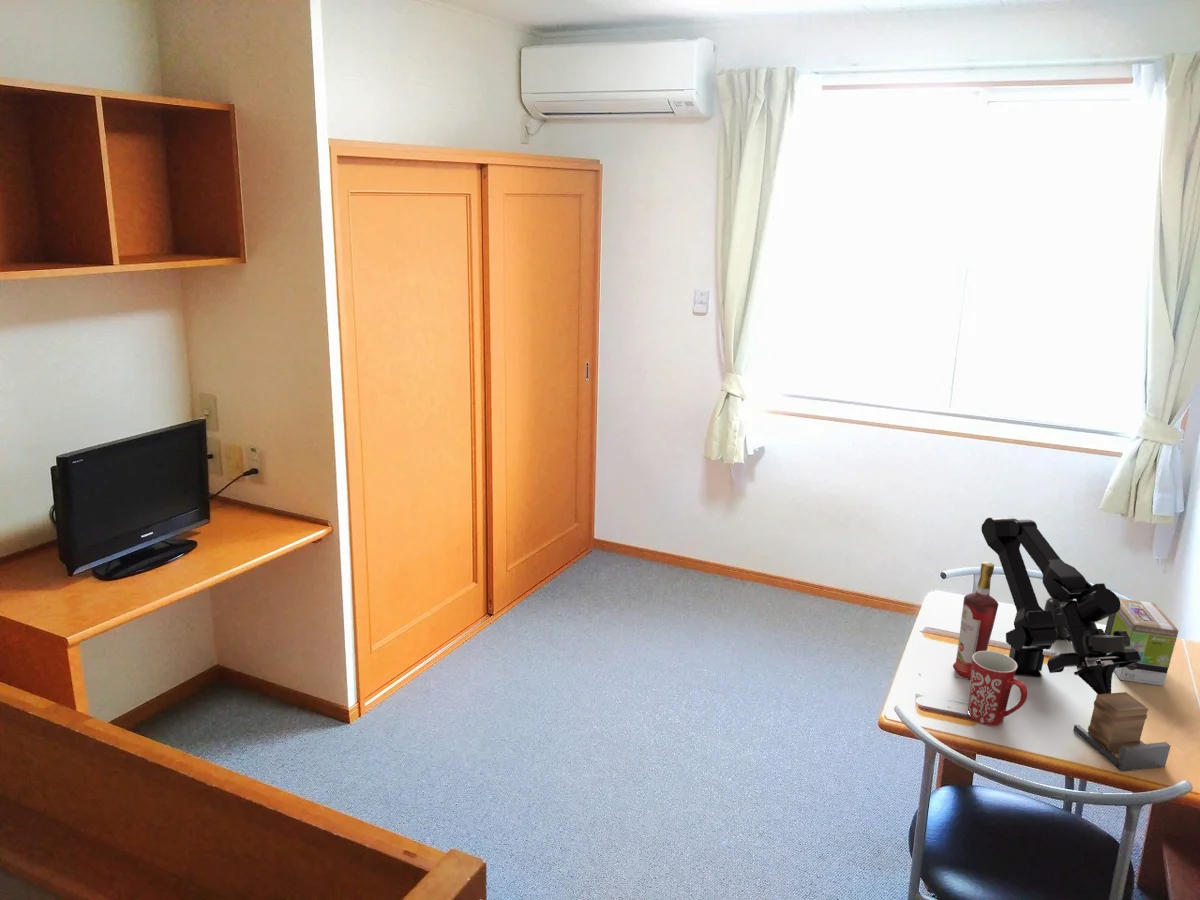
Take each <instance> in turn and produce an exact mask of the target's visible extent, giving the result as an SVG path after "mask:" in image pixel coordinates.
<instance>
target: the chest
mask: <svg viewBox="0 0 1200 900" xmlns="http://www.w3.org/2000/svg"><path fill="white" fill-rule="evenodd" d="M1148 710H1149V708H1148V707H1147V706H1145V705H1144V704H1143V703H1141V702H1140V701H1139V700H1138V699H1136V698H1135V697H1133V696H1132V695H1131V694H1129V693H1128V692H1127V691H1123V692H1122V691H1121V692H1111V693H1109V694H1097V693H1096V696H1095V700H1094V702H1093V710H1092V715H1091V717H1090V723H1089V725H1088V727H1087V730H1088V731H1087V732H1088V733H1089V734H1091V735H1092V736H1093V737H1094V738H1095V739H1096V740H1098V741H1099V742H1100V743H1101V744H1102V745H1104V746H1105V747H1106V748H1107V749H1108V750H1109V751H1111V752H1112V753H1113V754H1117V753H1119V754H1120V751H1121V747H1122V746H1129V745H1140V741H1142V740H1141V736H1142V733H1143V730H1144V725H1145V722H1146V720H1147V717H1148V715H1147V714H1148Z"/></svg>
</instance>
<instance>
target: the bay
mask: <svg viewBox="0 0 1200 900" xmlns="http://www.w3.org/2000/svg"><path fill="white" fill-rule="evenodd" d="M1073 732H1074V733H1076V734H1077V735H1078V736H1079V737H1080V738H1081V739H1082V740H1084V742H1086V743H1087V744H1088V745H1089V746H1090V747H1091V748H1093V749H1094V750H1095V751H1096V752H1097V753H1098V754H1100V755H1101V756H1102V757H1103V758H1104V759H1106V761H1107V762H1109V763H1110V764H1111V765H1113V766H1114V767H1115V768H1116V769H1117V770H1118V771H1119V772H1129V771H1139V770H1150V769H1158V768H1159V769H1160V768H1165V767H1166V764H1167V760H1168V756H1169V754H1170V750H1171V744H1170V743H1168V742H1166V741H1164V742H1152V743H1144V742H1143V741H1142V740H1141V741H1140V745H1129V746H1122V747H1121V751H1120V752H1119V756H1118V757H1117V755H1116V754H1115V753H1112V752H1111V751H1109V750H1108V749H1107V748H1106V747H1105V746H1104V745H1102V744H1101V743H1100V742H1099V741H1098V740H1096V739H1095V738H1094V737H1093V736H1092V735H1091V734H1089V733H1088V731H1087V730H1086V729H1084V727H1082V726H1081V725H1080V724H1074V726H1073Z"/></svg>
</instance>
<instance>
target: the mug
mask: <svg viewBox="0 0 1200 900" xmlns="http://www.w3.org/2000/svg"><path fill="white" fill-rule="evenodd" d="M972 660H973V662H972V671H971V679H970V683H969V689H968V690H969V691H968V701H967V707H968V711H969V713H970V715H971V718H970V719H972V720H973V721H975V722H976V723H979V724H980V725H981V724H982V725H985V726H992V727H993V726H999V725H1001V724H1002V723H1003V722H1004V719H1005V717H1007V716H1009V715H1011V714H1013V713H1014V712H1017V710H1019V709H1020V708H1022V707H1023V706H1024V704H1025V703H1026V701H1027V699H1028V687H1027V686H1026V684H1025V683H1024V682H1023V681H1021V680H1019V679H1015V675H1016V674H1015V671H1016V670H1017V668H1018V665H1017V663H1016V662H1015V661H1014V660H1013V659H1012V658H1010V657H1009V655H1006V654H1004V653H1001V652H997V651H992V650H987V651H978V652H976V653H974V654H973V655H972ZM1012 686H1013V687H1014V686H1016V687H1017V688H1019V691H1020V699H1019V702H1018V703H1017V704H1016V705H1015V706H1013V707H1012V708H1010V709H1008V710H1007V707H1008V703H1009V699H1010V695H1011V690H1012Z"/></svg>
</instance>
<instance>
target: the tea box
mask: <svg viewBox="0 0 1200 900" xmlns="http://www.w3.org/2000/svg"><path fill="white" fill-rule="evenodd" d="M1119 600H1120V609H1119V611H1118V612H1117V613H1115V614H1113V615H1111V616H1109V617H1107V621H1106V624H1105V625H1106V626H1105V629H1104V633H1105V635H1113V633H1114V631H1126V632H1127V634H1128V636H1129V638H1130V646H1124V648H1125V649H1135V650H1136V651H1138V653H1139V655H1140V658H1141V660H1142V661H1139V662H1137V663H1134V664H1132V665H1129V666H1127V667H1123V668H1115V670H1114V673H1115V674H1116V675H1117V677H1118V679H1119V680H1120V681H1121V680H1122V681H1127V682H1131V683H1139V684H1145V683H1146V684H1147V685H1154V686H1164V685H1165V682H1166V679H1167V676H1168V675H1167V674H1168V670H1169V667H1170V664H1171V660H1172V656H1173V654H1174V649H1175V645H1176V642H1177V638H1178V635H1179V629H1178V628H1177V627H1176V626H1175V625H1174V623H1173V622H1172V621H1171V620H1170V618H1168V617H1167V615H1166V614H1165V613H1164V612H1163V611H1162V610H1161V608H1160V607H1159V605H1157V604H1156V603H1155V602H1149V601H1143V600H1133V599H1125V598H1119ZM1108 654H1110V653H1107V655H1108Z"/></svg>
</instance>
